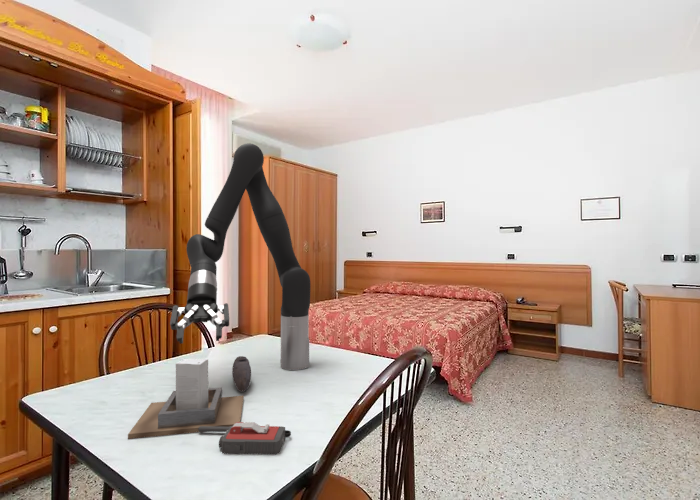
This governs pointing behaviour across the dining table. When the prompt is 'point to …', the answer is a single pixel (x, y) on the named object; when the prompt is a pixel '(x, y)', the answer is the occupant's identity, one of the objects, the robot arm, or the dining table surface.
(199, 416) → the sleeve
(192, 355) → the dining table surface
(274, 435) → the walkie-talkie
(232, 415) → the board
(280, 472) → the dining table surface
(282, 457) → the dining table surface
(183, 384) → the skincare box
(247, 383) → the perforated stone tool
